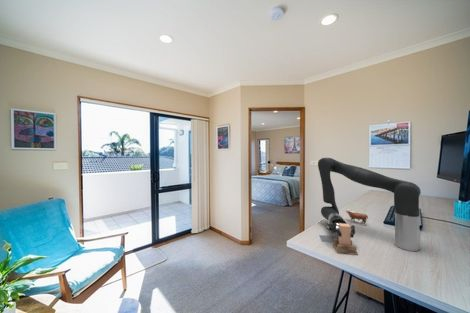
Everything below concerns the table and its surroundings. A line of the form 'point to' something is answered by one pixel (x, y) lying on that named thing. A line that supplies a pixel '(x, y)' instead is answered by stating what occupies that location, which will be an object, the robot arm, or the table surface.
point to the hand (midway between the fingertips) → (346, 235)
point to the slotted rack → (344, 248)
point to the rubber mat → (327, 238)
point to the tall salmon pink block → (345, 234)
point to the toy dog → (357, 216)
